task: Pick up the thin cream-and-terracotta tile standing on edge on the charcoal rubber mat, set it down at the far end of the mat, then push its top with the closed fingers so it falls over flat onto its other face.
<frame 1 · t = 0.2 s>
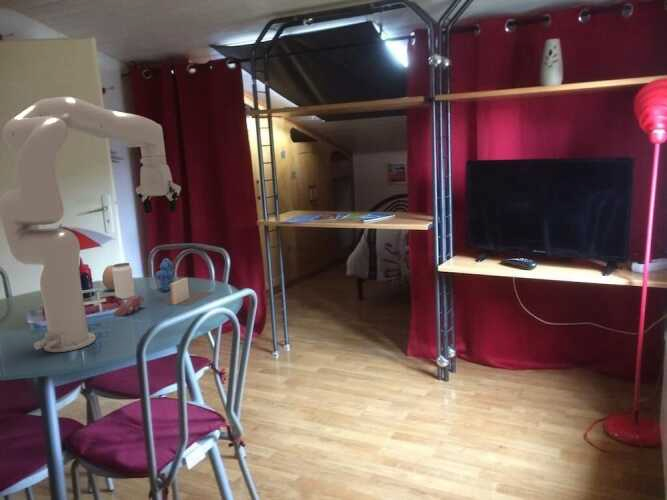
hand: (160, 212, 177), 30 cm above the table, tool pointing down, fingers open, 9 cm apart
mat: (187, 299, 179), on the table
grapes: (165, 290, 194), on the table
red lumpy clump: (130, 314, 167), on the table
tile: (180, 301, 175), point 1 cm above the table, touching mat
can: (125, 297, 187), on the table
egg: (113, 290, 199), on the table
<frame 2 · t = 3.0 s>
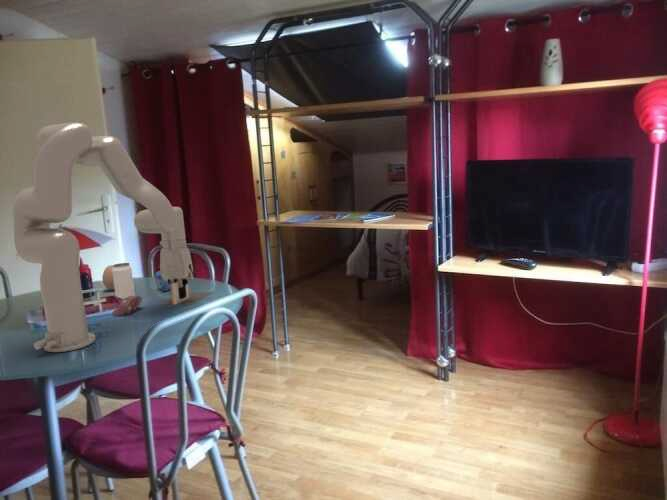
hand: (180, 297, 175), 2 cm above the table, tool pointing down, fingers closed on tile, 1 cm apart
tile: (180, 300, 176), point 1 cm above the table, touching gripper
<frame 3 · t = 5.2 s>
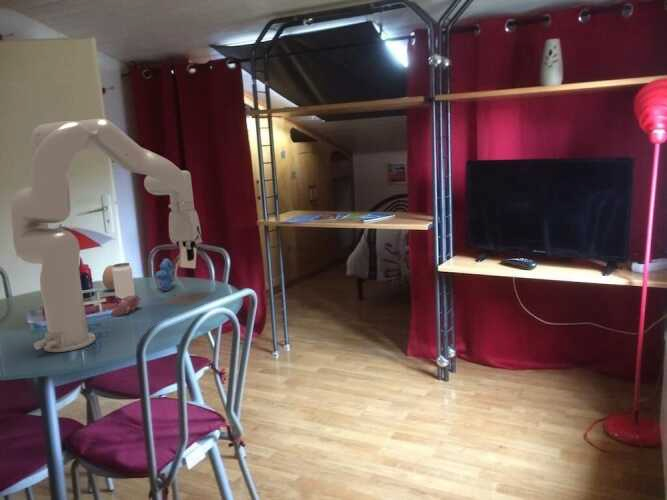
hand: (188, 259, 180), 13 cm above the table, tool pointing down, fingers closed on tile, 1 cm apart
tile: (187, 267, 179), point 11 cm above the table, tilted 16°, touching gripper
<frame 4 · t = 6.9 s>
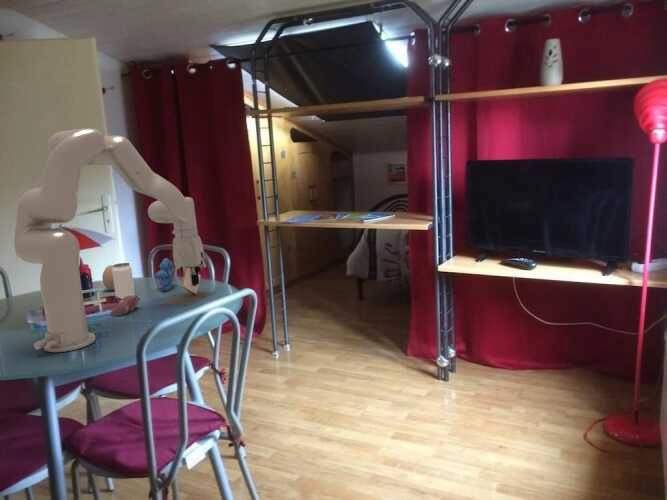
hand: (193, 284, 182), 4 cm above the table, tool pointing down, fingers closed on tile, 1 cm apart
tile: (188, 290, 180), point 3 cm above the table, tilted 34°, touching gripper, mat
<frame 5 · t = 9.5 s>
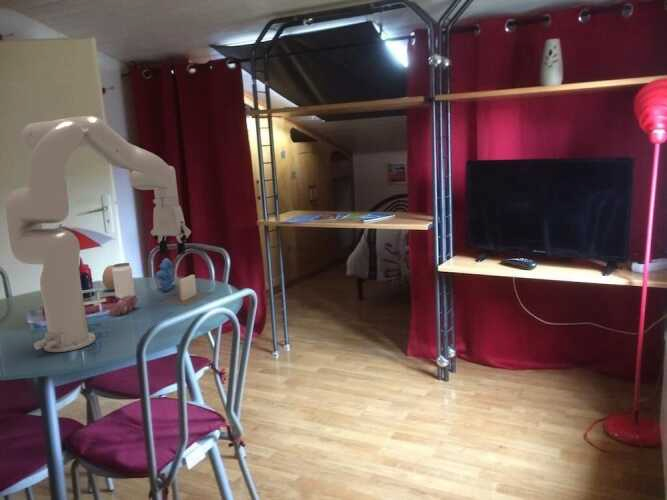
hand: (173, 253, 181), 16 cm above the table, tool pointing down, fingers open, 6 cm apart
tile: (188, 297, 180), point 1 cm above the table, touching mat
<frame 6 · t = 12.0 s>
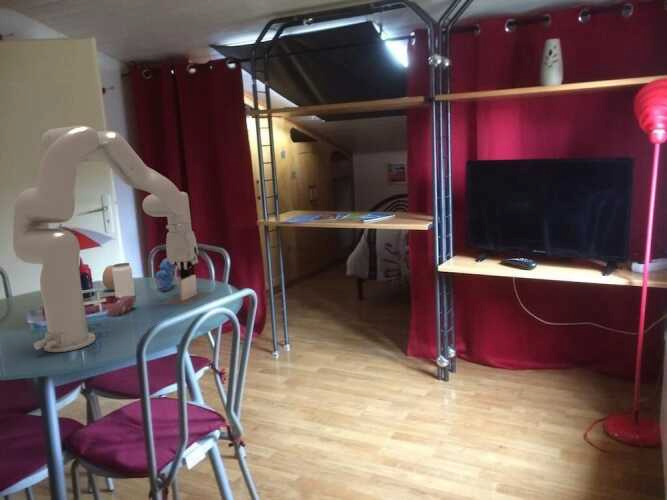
hand: (186, 279, 182), 6 cm above the table, tool pointing down, fingers closed
tile: (188, 297, 180), point 1 cm above the table, touching gripper, mat
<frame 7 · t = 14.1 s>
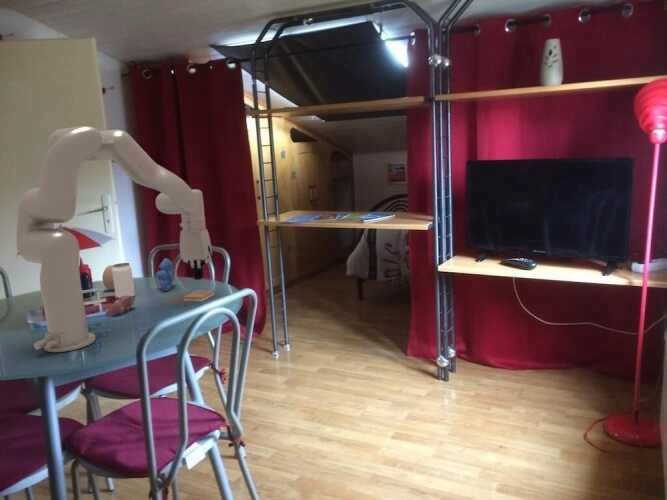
hand: (199, 278, 179), 7 cm above the table, tool pointing down, fingers closed
tile: (190, 295, 179), point 1 cm above the table, tilted 90°, touching mat
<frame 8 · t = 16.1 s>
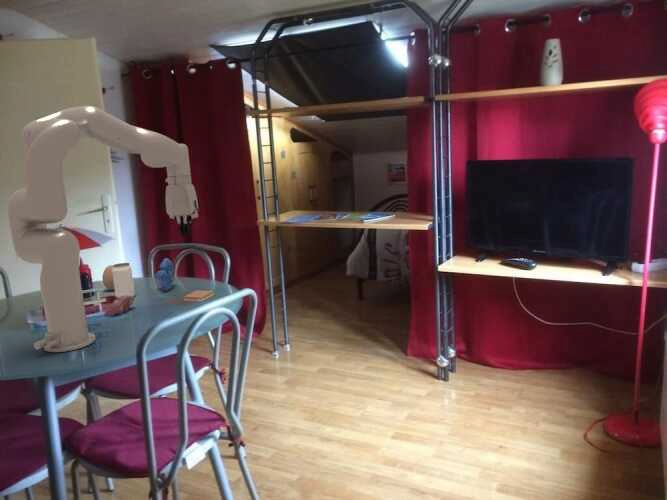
hand: (185, 234, 178), 22 cm above the table, tool pointing down, fingers closed
at the end: tile tilted 90°; tile 1.0 cm from the mat (horizontally); the gripper is holding nothing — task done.
